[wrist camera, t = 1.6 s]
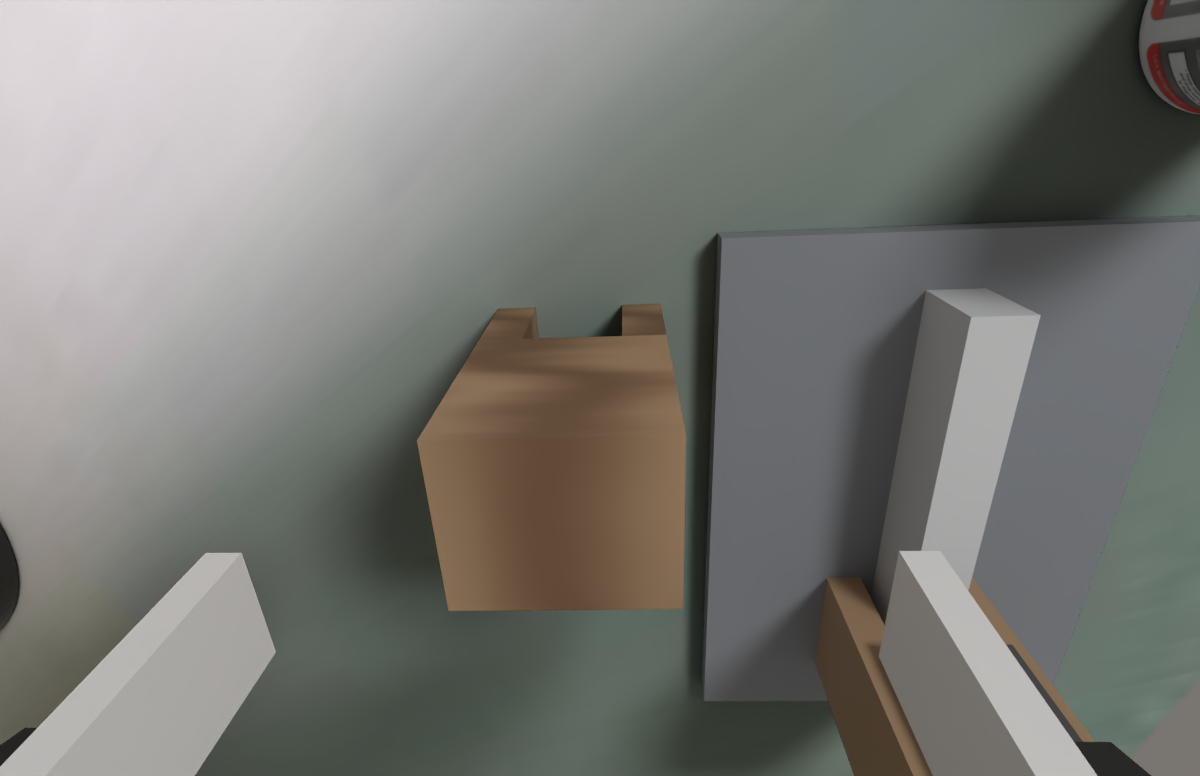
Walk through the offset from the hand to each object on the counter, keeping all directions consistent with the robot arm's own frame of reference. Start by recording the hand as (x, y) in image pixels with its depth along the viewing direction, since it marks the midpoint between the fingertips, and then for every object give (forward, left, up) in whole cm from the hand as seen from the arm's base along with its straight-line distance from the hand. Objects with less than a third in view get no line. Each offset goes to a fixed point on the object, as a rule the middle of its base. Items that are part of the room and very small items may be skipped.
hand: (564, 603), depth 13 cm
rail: (+13, -6, -12) cm, 19 cm away
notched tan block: (0, 0, -12) cm, 12 cm away
